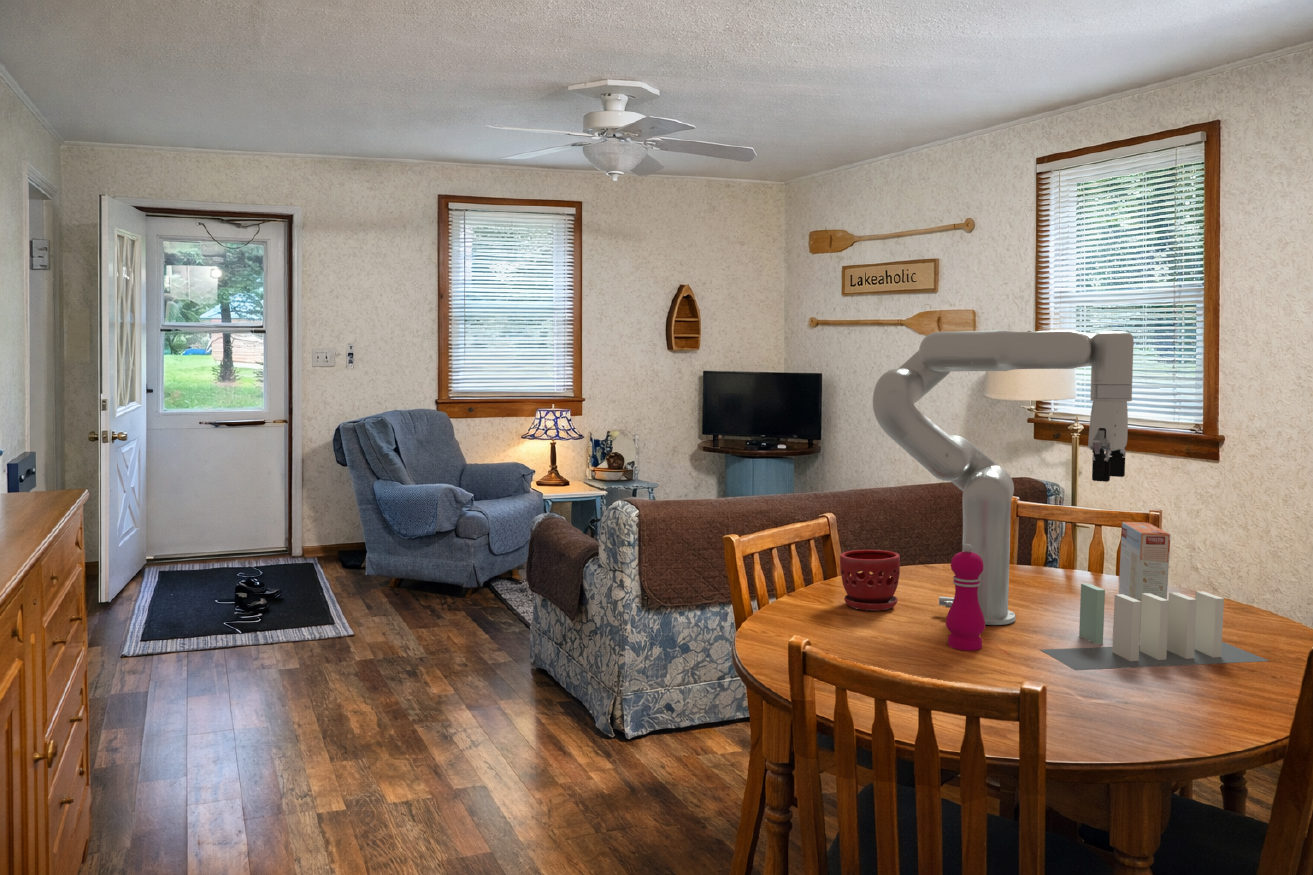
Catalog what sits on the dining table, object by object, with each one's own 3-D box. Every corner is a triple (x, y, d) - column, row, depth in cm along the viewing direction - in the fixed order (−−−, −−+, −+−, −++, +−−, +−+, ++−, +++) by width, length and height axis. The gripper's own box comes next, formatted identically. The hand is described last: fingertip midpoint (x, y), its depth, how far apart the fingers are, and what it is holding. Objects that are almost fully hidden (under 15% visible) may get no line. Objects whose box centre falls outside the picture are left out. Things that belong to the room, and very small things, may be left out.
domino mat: (1075, 672, 173) (1075, 669, 173) (1039, 652, 185) (1039, 649, 185) (1269, 663, 178) (1269, 660, 178) (1222, 644, 190) (1223, 641, 190)
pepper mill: (964, 653, 184) (967, 548, 182) (937, 643, 190) (939, 542, 188) (992, 648, 187) (996, 545, 185) (964, 638, 193) (967, 539, 192)
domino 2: (1158, 659, 178) (1160, 600, 178) (1139, 650, 184) (1141, 593, 183) (1166, 659, 179) (1169, 600, 178) (1147, 650, 184) (1149, 593, 183)
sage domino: (1095, 646, 189) (1097, 590, 188) (1079, 638, 194) (1081, 583, 193) (1102, 645, 189) (1105, 589, 188) (1086, 637, 194) (1088, 583, 193)
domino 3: (1185, 658, 179) (1188, 599, 178) (1166, 649, 185) (1168, 592, 184) (1193, 658, 179) (1196, 599, 178) (1174, 649, 185) (1176, 592, 184)
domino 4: (1213, 657, 180) (1216, 598, 179) (1192, 648, 185) (1195, 591, 184) (1221, 657, 180) (1224, 598, 179) (1200, 648, 186) (1203, 591, 185)
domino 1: (1130, 661, 178) (1132, 601, 177) (1112, 652, 183) (1114, 594, 182) (1138, 660, 178) (1141, 601, 177) (1120, 651, 183) (1122, 594, 182)
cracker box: (1167, 637, 195) (1172, 533, 193) (1134, 635, 196) (1139, 532, 194) (1146, 618, 208) (1151, 521, 207) (1116, 617, 210) (1120, 520, 208)
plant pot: (897, 600, 224) (898, 548, 223) (901, 615, 211) (902, 560, 210) (839, 597, 226) (839, 546, 225) (839, 612, 213) (840, 558, 212)
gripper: (1104, 392, 204) (1102, 473, 206) (1077, 394, 191) (1074, 481, 193) (1143, 392, 200) (1140, 476, 201) (1117, 395, 187) (1115, 484, 188)
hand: (1108, 478), depth 197 cm, fingers open, 9 cm apart
